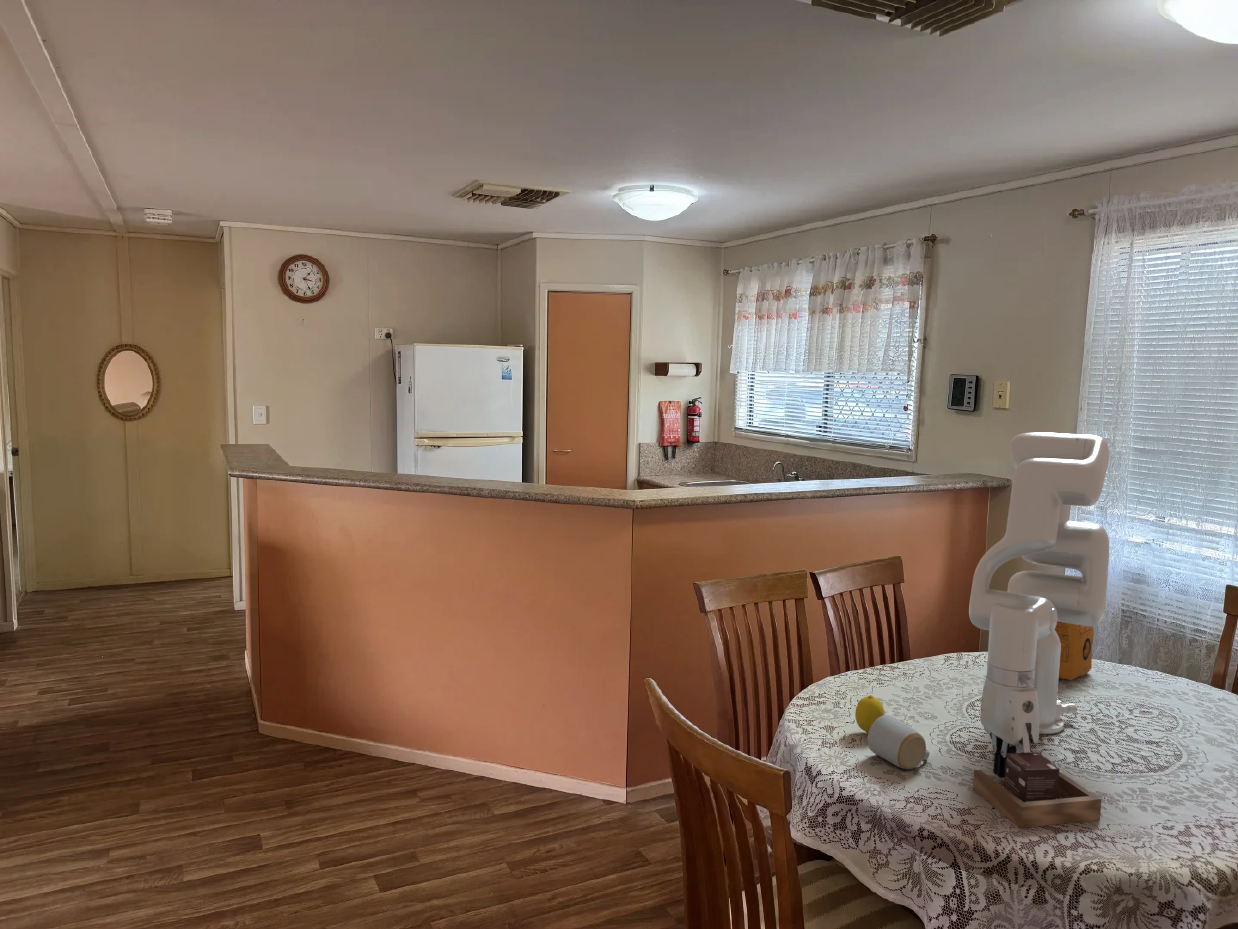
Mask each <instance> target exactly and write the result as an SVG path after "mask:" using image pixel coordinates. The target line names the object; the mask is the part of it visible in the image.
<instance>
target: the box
mask: <svg viewBox="0 0 1238 929" xmlns="http://www.w3.org/2000/svg"><path fill="white" fill-rule="evenodd" d="M1059 772H1061V770H1060V768H1059V767H1058V766H1056V765H1055V764H1053V763H1052V761H1051V760H1050V759H1048V758H1046V757H1045V756H1043V755H1042V754H1041V753H1040V752H1030V754H1029V755H1022V754H1021V753H1006V765H1005V777H1004V778H1003V779H1004V781H1003V787H1004V788H1005V789H1007V790H1008V791H1009V792H1011V793H1012V794H1013V795H1015V796H1016V797H1017V798H1019V799H1020V800H1021V801H1023V802H1033V801H1043V800H1054V799H1058V795H1057V792H1058V780H1059Z"/></svg>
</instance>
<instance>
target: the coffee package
mask: <svg viewBox="0 0 1238 929" xmlns="http://www.w3.org/2000/svg"><path fill="white" fill-rule="evenodd" d="M1054 630H1055V631H1056V633H1057V634H1058V636H1059V639H1060V643H1061V653H1060V667H1059V679H1063V680H1070V681H1072V680H1075V679H1076V678H1079V677H1081V676H1084V675H1086V674H1088V673H1089V672H1090V671H1091V670H1092V668H1093V666H1092V665H1093V664H1092V662H1093V644H1094V635H1095V628H1094V626H1082V625H1075V624H1068V623H1062V622H1057V624H1056V627H1055V629H1054Z"/></svg>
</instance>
